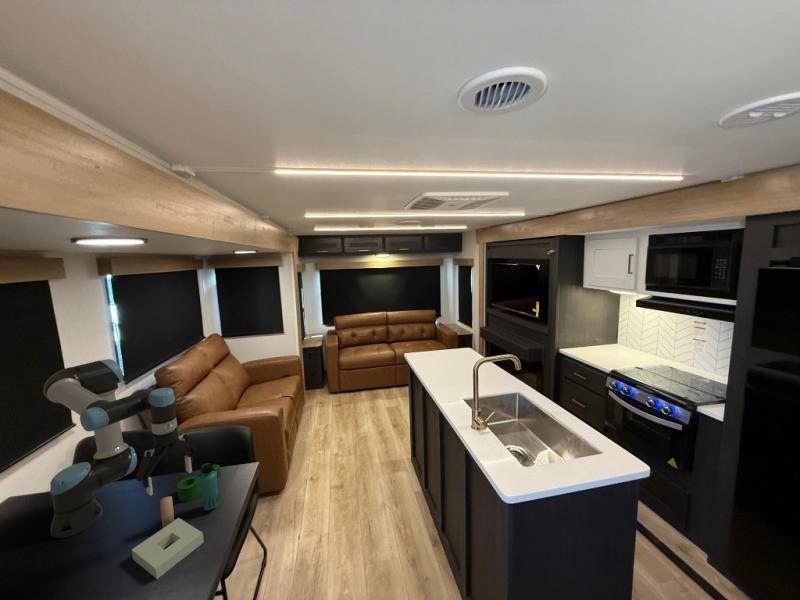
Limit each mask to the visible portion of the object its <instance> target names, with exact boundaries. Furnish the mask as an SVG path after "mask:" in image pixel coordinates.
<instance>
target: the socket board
mask: <svg viewBox="0 0 800 600" xmlns="http://www.w3.org/2000/svg"><path fill="white" fill-rule="evenodd" d="M202 544H204V533H203V532H202V531H201V530H199V529H197V528H196V527H195V526H193V525H191V524H189V523H188V522H186V521H185V520H183V519H182V518H180V517H178V518H176V519H174V521H173V522H172V523H170V524H169V525H167V526H166V527H164V528H163V527H162V528H161V529H160V530H158V531H157V532H156V533H154V534H152V535H151V536H150V537H148V538H147V539H145V540H144V541H142V542H141V543H139V544H138V545H136V546H135V547H133V548H132V549H131V554H132V560H133V561H134V562H135V563H137V564H138V565H139V566H140V567H142V568H143V569H144V570H145V571H146V572H148V573H149V574H150V575H151V576H152V577H154V578H155V579H156V580H158V579H159V578H161V577H162V576H164V574H165V573H167V572H168V571H170V570H171V569H172V568H173V567H174V566H175V565H177V564H178V563H179V562H181V561H182V560H183V559H185V558H186V557H187V556H188V555H189V554H191V553H192V552H193V551H194V550H196V549H197V548H199V546H201V545H202Z"/></svg>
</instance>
